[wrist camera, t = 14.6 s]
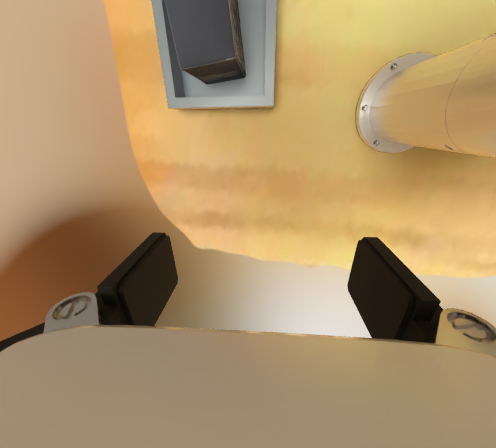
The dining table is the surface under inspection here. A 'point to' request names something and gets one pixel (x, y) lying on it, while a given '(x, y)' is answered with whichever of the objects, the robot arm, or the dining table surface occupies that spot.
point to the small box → (207, 38)
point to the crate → (228, 92)
